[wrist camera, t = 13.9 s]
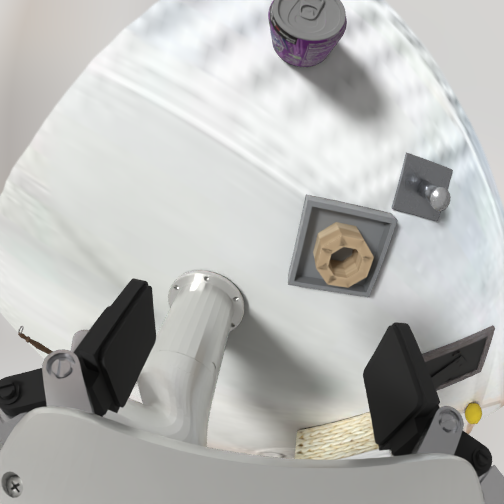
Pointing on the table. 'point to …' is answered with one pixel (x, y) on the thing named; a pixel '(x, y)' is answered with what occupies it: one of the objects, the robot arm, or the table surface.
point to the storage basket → (339, 441)
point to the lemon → (473, 413)
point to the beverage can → (306, 29)
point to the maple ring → (350, 267)
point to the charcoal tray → (370, 227)
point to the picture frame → (458, 359)
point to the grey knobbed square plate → (422, 188)
